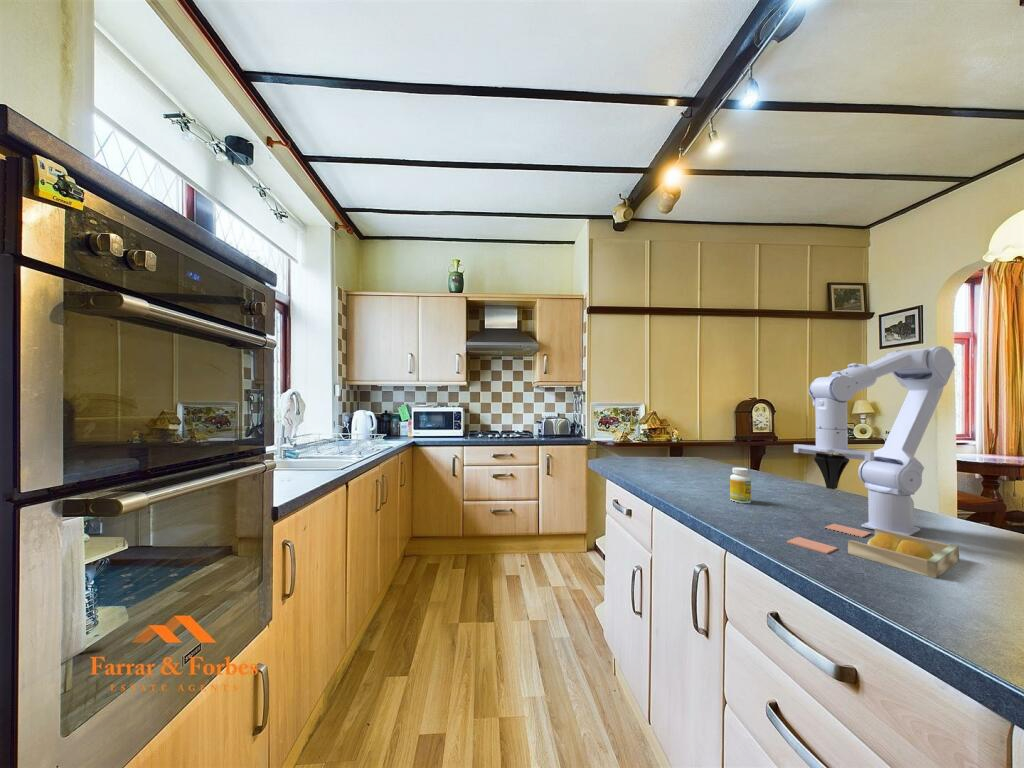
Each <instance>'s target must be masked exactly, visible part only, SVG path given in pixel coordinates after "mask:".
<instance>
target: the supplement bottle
mask: <svg viewBox="0 0 1024 768" xmlns="http://www.w3.org/2000/svg"><path fill="white" fill-rule="evenodd" d="M748 474H749V469H748V468H745V467H736V466H735V467H732V474H731V475H730V476H729V500H730V501H731V500H732V501H731V502H733V501H735V502H734V503H736V502H740V503H739V504H742V503H748V504H751V503H752V479H751V476H749V475H748Z"/></svg>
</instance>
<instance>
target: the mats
mask: <svg viewBox="0 0 1024 768" xmlns="http://www.w3.org/2000/svg"><path fill="white" fill-rule="evenodd" d="M825 528H827V530H829V529H831V530H830V531H833V530H835V531H834V532H837V531H839V532H838V533H841V532H843V533H842V534H845V533H847V534H846V535H850V534H851V535H850V536H854V535H855V536H854V537H858V536H859V538H862V537H864V538H866V537H867V535H868V536H870V535H872V534H871V533H872V532H870V531H866V530H862V529H858V528H854V527H849V526H845V525H843V524H837V523H832V524H829V525H826V526H824V529H825ZM869 534H870V535H869ZM865 536H866V537H865ZM786 543H788V544H791V545H794V546H797V547H801V548H805V549H807V550H811V551H815V552H818V553H821V554H825V555H828V554H831V553H832V552H834V551H837V550H838V547H836V546H833V545H829V544H825V543H821V542H819V541H815V540H810V539H807V538H804V537H800V536H797V537H795V538H792V539H789V540H786Z"/></svg>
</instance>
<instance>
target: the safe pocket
mask: <svg viewBox="0 0 1024 768" xmlns="http://www.w3.org/2000/svg"><path fill="white" fill-rule="evenodd" d="M877 534H889V535H892V536H895V537H896V538H898V539H900V540H901V541H902V540H909V541H914V542H917V543H920V544H923V545H925V546H926V547H928V548H929V549H930V550H931V552H932V553H933V555H934V556H933V557H931V558H930V559H928V560H926V559H923V558H919V557H915V556H911V555H907V554H903V553H899V552H895V551H891V550H887V549H884V548H880V547H876V546H872V545H868V544H867V543H864V542H859V541H857V540H851V539H848V540H847V554H849V555H852V556H855V557H858V558H863V559H865V560H869V561H873V562H877V563H880V564H884V565H888V566H890V567H894V568H898V569H901V570H905V571H908V572H911V573H916V574H919V575H923V576H926V577H930V578H933V579H937V578H938V577H939V576H941V575H942V574H944V573H945V572H946V571H947V570H949V569H950V568H951V567H952V566H955V564H956V563H958V561H960V545H958V544H953V543H951V544H947V543H943V542H938V541H935V540H931V539H925V538H921V537H916V536H912V535H910V536H909V535H904V534H900V533H895V532H891V531H886V530H882V529H878V528H876V529H875V530H874V536H875V535H877Z"/></svg>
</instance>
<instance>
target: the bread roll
mask: <svg viewBox="0 0 1024 768" xmlns="http://www.w3.org/2000/svg"><path fill="white" fill-rule="evenodd" d="M866 544H868V545H872V546H876V547H880V548H884V549H887V550H891V551H895V552H899V553H903V554H907V555H911V556H915V557H919V558H923V559H926V560H928V559H930V558H931V557H933V556H934V555H933V553H932V552H931V550H930V549H929V548H928V547H926V546H925V545H923V544H920V543H917V542H914V541H909V540H902V541H901V540H900V539H898V538H896V537H895V536H892V535H889V534H877V535H875V534H874V536H873V537H871V538H870V539H868V541H867V543H866Z"/></svg>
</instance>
